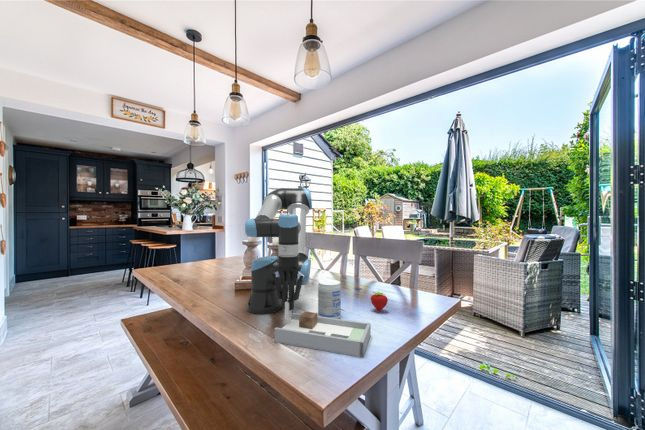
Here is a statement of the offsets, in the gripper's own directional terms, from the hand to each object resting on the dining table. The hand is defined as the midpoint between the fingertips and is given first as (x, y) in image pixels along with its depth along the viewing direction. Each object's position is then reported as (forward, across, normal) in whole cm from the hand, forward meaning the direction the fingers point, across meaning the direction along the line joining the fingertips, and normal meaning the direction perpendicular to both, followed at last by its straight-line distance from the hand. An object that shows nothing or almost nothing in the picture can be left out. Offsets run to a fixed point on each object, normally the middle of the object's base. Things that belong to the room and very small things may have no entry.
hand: (288, 318), depth 101 cm
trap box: (+4, +15, -3) cm, 16 cm away
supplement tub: (+4, +11, +17) cm, 20 cm away
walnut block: (+2, +8, 0) cm, 8 cm away
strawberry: (+4, +30, +30) cm, 42 cm away
